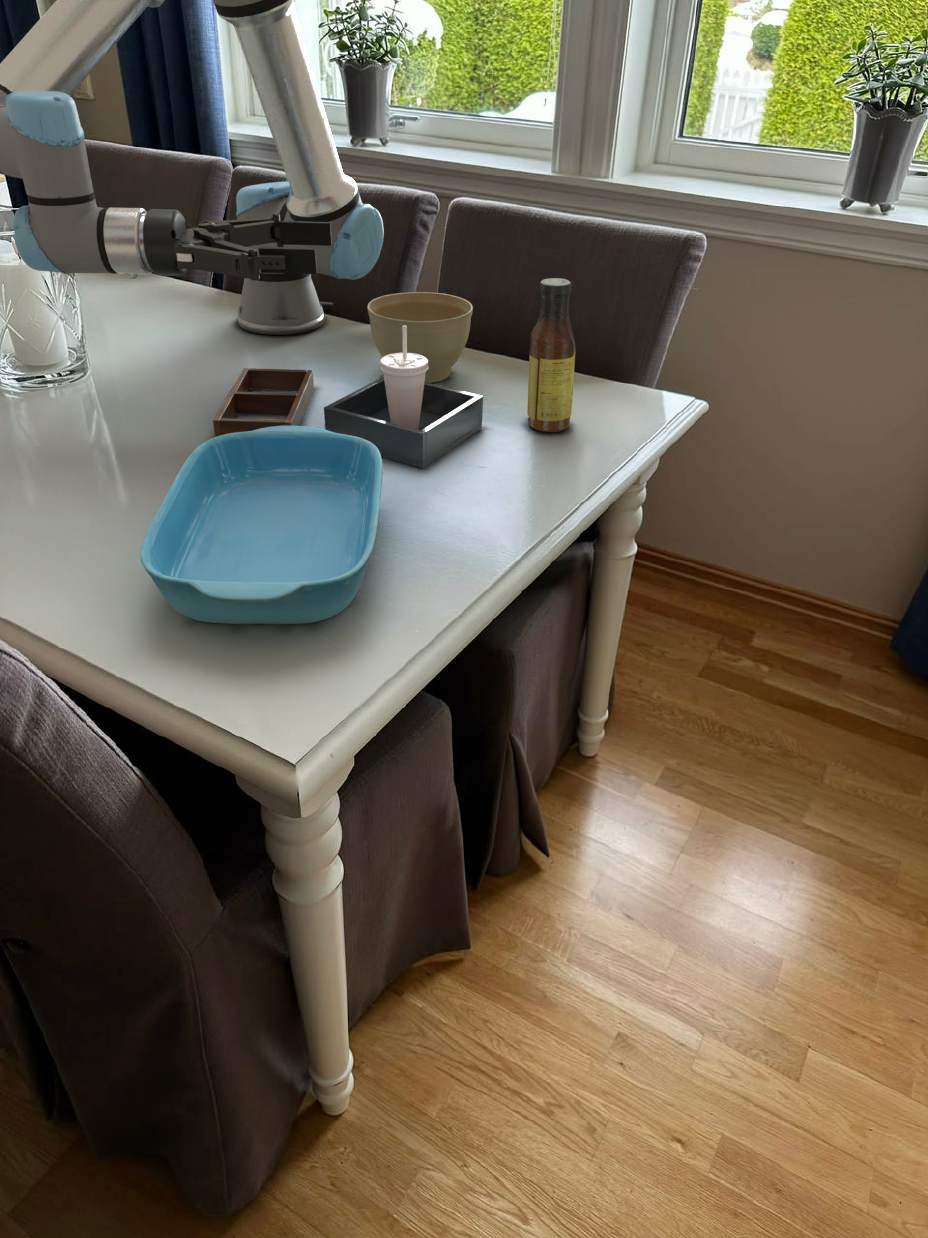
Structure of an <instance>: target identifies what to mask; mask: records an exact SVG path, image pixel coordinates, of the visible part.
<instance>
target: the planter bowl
mask: <svg viewBox="0 0 928 1238" xmlns="http://www.w3.org/2000/svg"><path fill="white" fill-rule="evenodd" d="M473 310H474V306H473V304H472V303H471V302H470V301H468V300H467V299H465V298H462V297H460V296H456V295H452V294H446V293H440V292H431V291H429V292H428V291H416V292H415V291H412V292H411V291H410V292H399V293H391V294H385V295H382V296H379V297H378V296H377V297H376V298H373V299H372V300H371V301H369V302H368V303H367V314H368V316H369V325H370V332H371V335H372V339H373V342H374V345H375V347H376V349H377V351H378V353H379V355H380V356H381V359H382V358H383V357H384V356H386V355H389V354H394V353H403V333H402V326H403V325H406V326H407V353H414V354H419V355H422V356H424V357H425V358H427V360H428V370H427V371H426V373H425V382H428V383H432V384H434V383H437V382H441V381H444V380H447V378H449V377H450V376H451V373H452V368H453V367H454V366H455V364H456V363H457V361H458V359H459V358H460V357H461V354H462V353H463V351H464V349H465V348H466V344H467V342H468V339H469V334H470V329H471V321H472V320H471V319H472V317H473V316H472V315H473Z"/></svg>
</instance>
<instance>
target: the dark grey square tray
mask: <svg viewBox="0 0 928 1238" xmlns="http://www.w3.org/2000/svg"><path fill="white" fill-rule="evenodd" d="M483 408H484V396H483V395H482V394H481V395H480V394H476V393H472V392H468V391H465V390H460V389H456V388H451V387H448V386H444V385H439V384H435V383H428V382H424V389H423V397H422V405H421V413H420V421H419V429H418V430H416V429H412V428H408V427H405V426H401V425H397V424H394V423H391V421H390V415H389V408H388V401H387V395H386V388H385V382H384V376H382V377H380V378H378V379H376V380H374V381H372V382H369V384H366V385H364V386H362V387H361V388H359V389H356V390H355V391H353V392H351V393H349V394H347V395H345V396H343V397H341V398H339V399H337V400H335V401H334V402H332V403H329V404H328V405H325V406H324V407H323V419H324V430H328V431H331V432H334V433H339V434H345V435H350V436H355V437H359V438H362V439H365V440H367V441H369V442H371V443H372V444H374V445H375V446H376V447H377V448H378V450H379V452H380V454H381V458H384V459H388V460H391V461H395V462H399V463H402V464H406V465H409V466H411V467H416V468H418V469H421V470H422V469H425V468H426V467H427V466H429V465H431V464H432V463H433V462H435V461H436V460H437V459H439V458H440V457H442V456H444V455H445V454H446V453H448V452H449V451H451V450H452V449H454V448H455V447H456V446H458V445H460V444H461V443H463V442H464V441H466V440H467V439H468V438H470V437H471V436H473V435H474V434H476V433H478V432H479V431H480V430H482V429H483V415H484V414H483V413H484V409H483Z"/></svg>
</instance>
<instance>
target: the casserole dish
mask: <svg viewBox="0 0 928 1238" xmlns="http://www.w3.org/2000/svg"><path fill="white" fill-rule="evenodd" d="M382 458H383V457H381V454H380V452H379V450H378V448H377V447H376V446H375V445H374V444H372V443H371V442H369V441H367V440H365V439H362V438H359V437H355V436H350V435H345V434H339V433H334V432H331V431H328V430H325V428H320V427H316V426H310V425H300V426H273V427H266V428H261V429H257V430H253V431H247V432H237V433H230V434H225V435H221V436H218V437H215V436H214V437H212V438H209V439H207V440H206V441H204V442H202V443H201V444H200V445H198V446H197V447H195V449H194V450H193V451H192V452H191V453H190V454H189V456H187V459H186V460H185V462H184V463H183V464H182V466H181V468H180V470H179V472H177V475H176V476H175V479H174V481H173V482H172V484H171V486H170V488H169V490H168V492H167V493H166V496H165V498H164V499H163V501H162V503H161V505H160V507H159V508H158V510H157V512H156V514H155V515H154V517H153V520H152V521H151V523H150V525H149V527H148V530H147V531H146V534H145V536H144V539H143V540H142V544H141V548H140V553H139V555H140V562H141V564H142V567H143V568H144V570H145V571H146V572H147V574H148V575H149V576H150V578H151V579H152V581H153V583H154V584H155V586H156V587H157V589H158V591H159V592H160V593H161V595H162V597H163V598H164V599H165V601H167V603H168V604H169V605H170V607H172V608H173V609H174V610H175V611H176V612H177V613H179V614H181V615H182V616H185V617H187V618H189V619H192V620H194V621H195V620H196V621H197V622H198V621H199V622H202V623H203V622H205V623H211V624H226V625H227V624H229V625H257V624H259V625H303V624H304V625H305V624H313V623H318V622H321V621H325V620H328V619H330V618H333V617H334V616H336V615H339V614H340V613H341V612H343V611H344V610H345V609H346V608H347V607H348V606H349V605H350V604H351V602H353V600H354V599H355V598H356V596H357V594H358V592H359V590H360V587H361V586H362V583H363V581H364V578H365V575H366V572H367V569H368V566H369V562H370V559H371V557H372V554H373V552H374V550H375V544H376V539H377V536H378V528H379V517H380V508H381V496H382V485H383V473H384V472H383V469H384V467H383V465H384V463H383V459H382Z"/></svg>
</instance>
